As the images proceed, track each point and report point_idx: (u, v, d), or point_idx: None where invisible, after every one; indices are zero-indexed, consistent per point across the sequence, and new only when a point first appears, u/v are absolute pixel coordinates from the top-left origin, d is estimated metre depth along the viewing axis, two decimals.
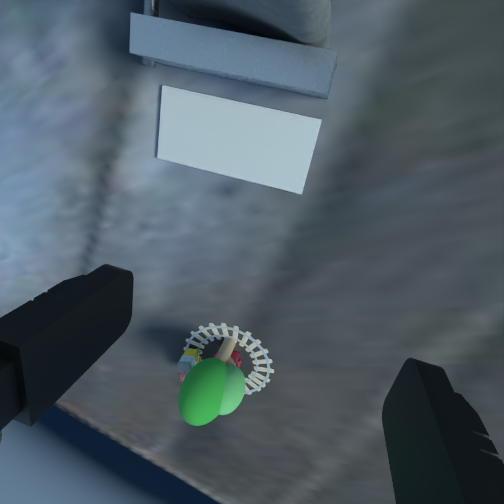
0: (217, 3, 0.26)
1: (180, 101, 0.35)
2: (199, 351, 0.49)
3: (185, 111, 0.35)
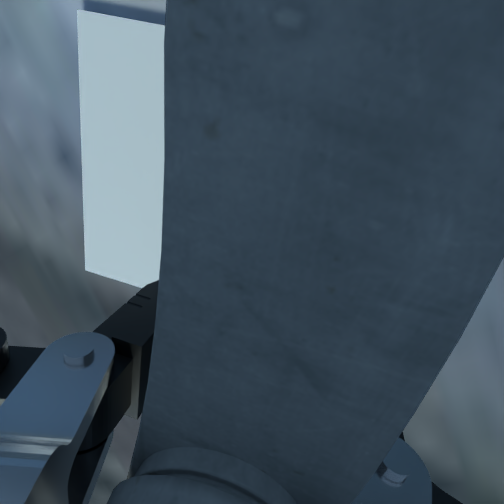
0: None
1: None
2: None
3: (163, 84, 0.19)
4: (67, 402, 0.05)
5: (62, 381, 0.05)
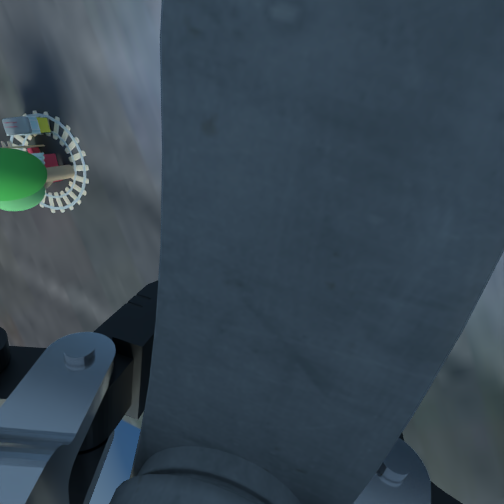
0: None
1: None
2: (48, 133, 0.44)
3: None
4: (68, 402, 0.05)
5: (64, 381, 0.05)
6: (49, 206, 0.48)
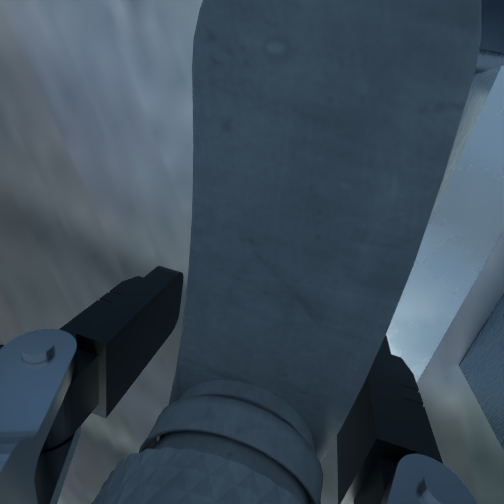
0: None
1: None
2: None
3: None
4: (19, 399, 0.05)
5: (22, 379, 0.05)
6: None
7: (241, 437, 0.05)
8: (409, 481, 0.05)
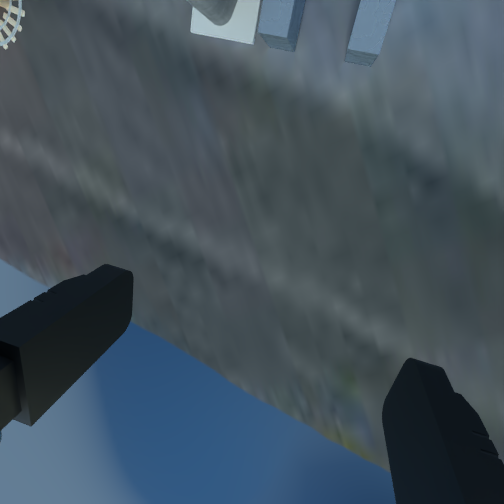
0: None
1: None
2: None
3: None
4: None
5: None
6: None
7: None
8: None
